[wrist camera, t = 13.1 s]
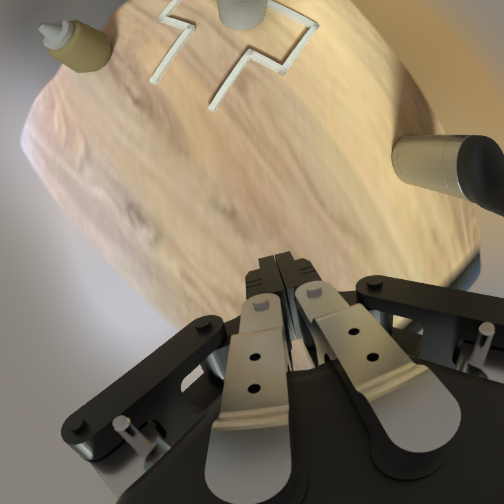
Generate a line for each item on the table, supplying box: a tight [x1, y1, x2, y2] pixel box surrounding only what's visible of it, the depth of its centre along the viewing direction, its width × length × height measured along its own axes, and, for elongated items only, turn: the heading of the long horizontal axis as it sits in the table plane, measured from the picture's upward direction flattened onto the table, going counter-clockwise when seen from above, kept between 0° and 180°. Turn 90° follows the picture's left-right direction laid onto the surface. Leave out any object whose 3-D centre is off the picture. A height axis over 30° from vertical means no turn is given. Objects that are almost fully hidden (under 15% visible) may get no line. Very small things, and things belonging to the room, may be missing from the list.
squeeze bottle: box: [38, 20, 111, 73], centre depth 25 cm, size 8×8×18 cm
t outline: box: [149, 0, 320, 112], centre depth 34 cm, size 23×24×2 cm
